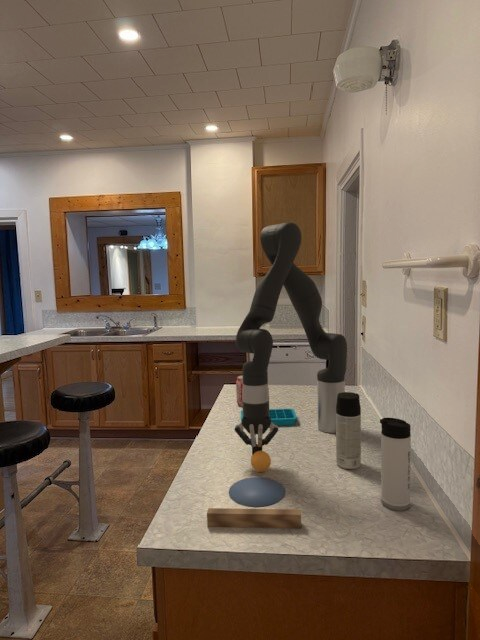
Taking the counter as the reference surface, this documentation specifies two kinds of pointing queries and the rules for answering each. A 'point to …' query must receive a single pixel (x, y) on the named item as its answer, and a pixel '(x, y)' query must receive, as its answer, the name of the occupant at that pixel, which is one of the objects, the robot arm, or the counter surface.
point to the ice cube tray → (281, 416)
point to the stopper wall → (254, 518)
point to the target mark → (257, 491)
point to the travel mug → (395, 463)
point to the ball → (260, 461)
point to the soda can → (239, 390)
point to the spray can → (348, 430)
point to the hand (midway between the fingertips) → (257, 458)
